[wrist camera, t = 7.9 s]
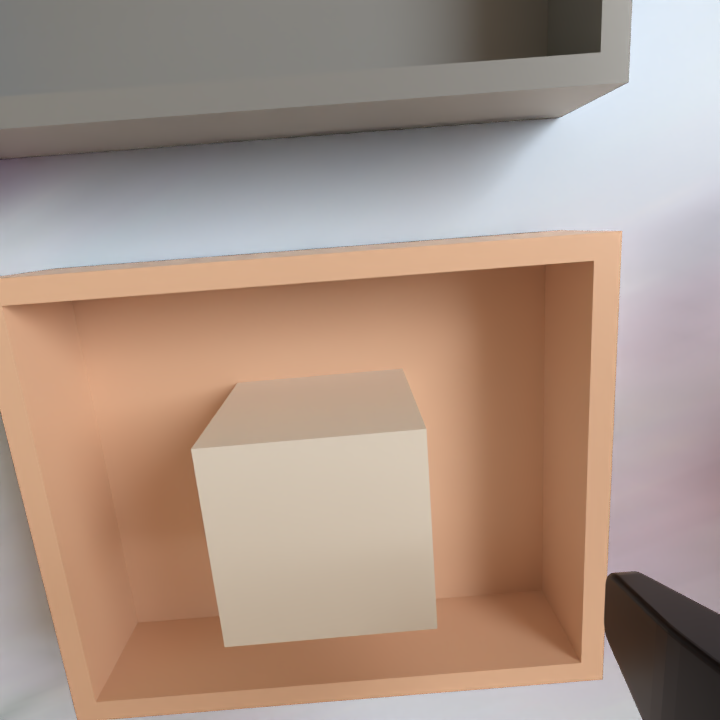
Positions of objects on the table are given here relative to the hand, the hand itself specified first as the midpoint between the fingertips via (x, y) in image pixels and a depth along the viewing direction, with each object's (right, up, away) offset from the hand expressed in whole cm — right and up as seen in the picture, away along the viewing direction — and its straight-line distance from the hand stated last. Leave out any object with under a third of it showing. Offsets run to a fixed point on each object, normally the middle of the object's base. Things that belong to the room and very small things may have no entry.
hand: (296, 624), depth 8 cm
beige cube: (0, +1, +6) cm, 6 cm away
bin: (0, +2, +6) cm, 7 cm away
